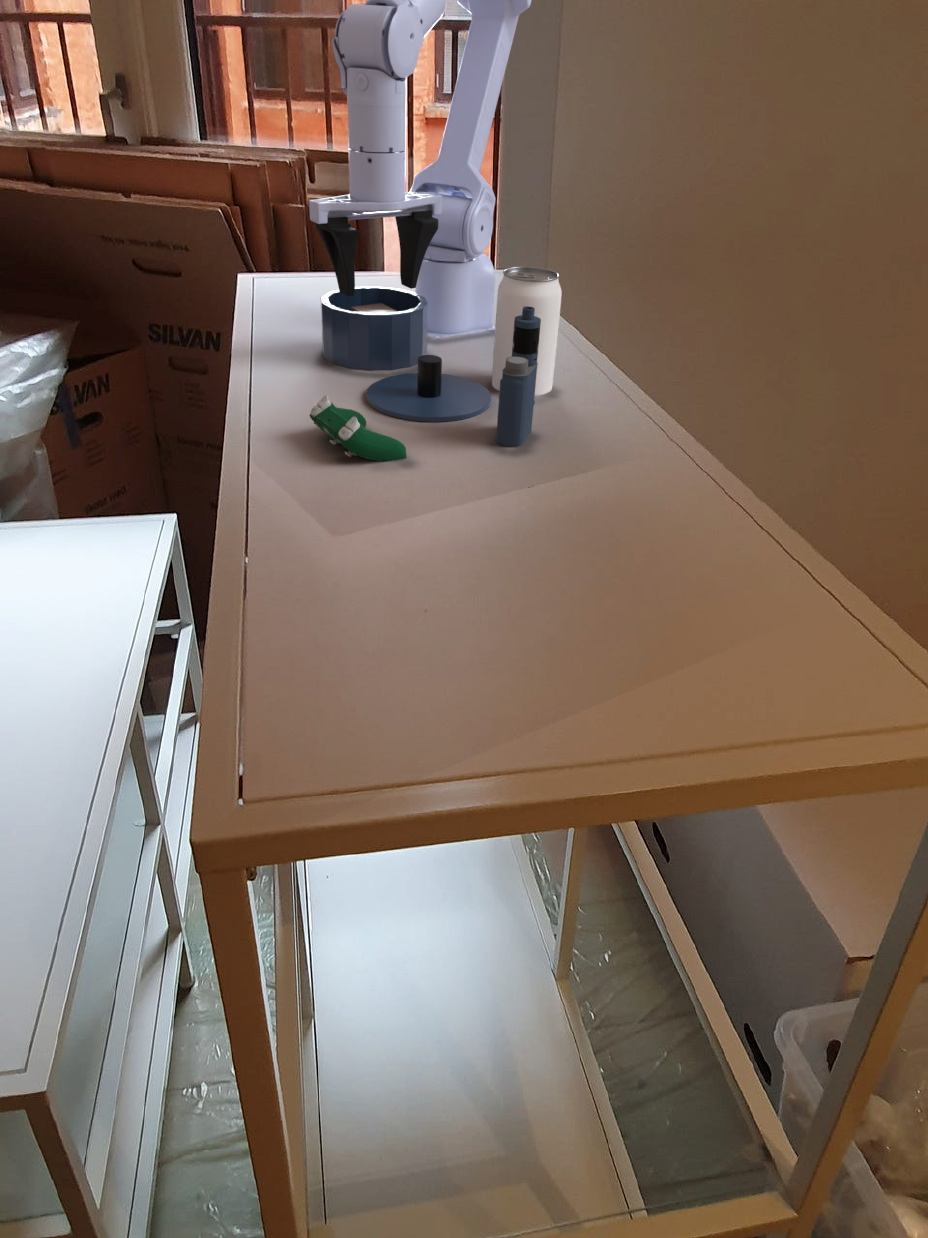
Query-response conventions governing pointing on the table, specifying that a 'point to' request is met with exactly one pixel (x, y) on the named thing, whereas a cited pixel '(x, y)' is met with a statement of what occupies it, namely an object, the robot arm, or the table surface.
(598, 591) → the table surface
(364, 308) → the block
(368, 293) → the tin
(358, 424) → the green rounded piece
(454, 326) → the robot arm
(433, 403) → the lid
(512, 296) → the can
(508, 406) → the vaping device
